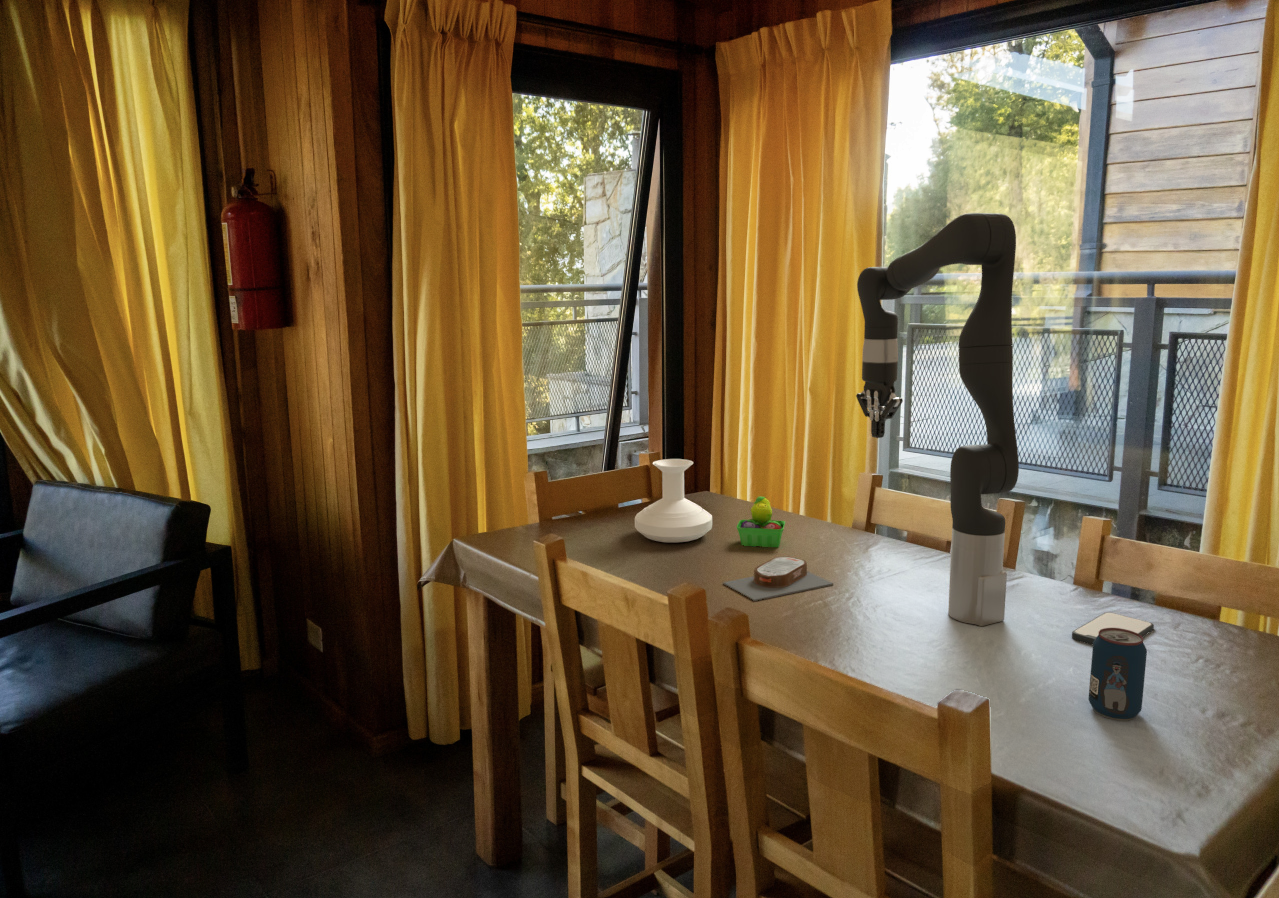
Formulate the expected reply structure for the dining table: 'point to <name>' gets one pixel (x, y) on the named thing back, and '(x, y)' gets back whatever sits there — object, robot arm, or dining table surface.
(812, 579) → the mat
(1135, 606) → the dining table surface
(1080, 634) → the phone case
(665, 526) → the white vase
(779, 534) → the fruit basket
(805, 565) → the tin
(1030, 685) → the dining table surface
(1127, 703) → the soda can
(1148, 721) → the dining table surface
